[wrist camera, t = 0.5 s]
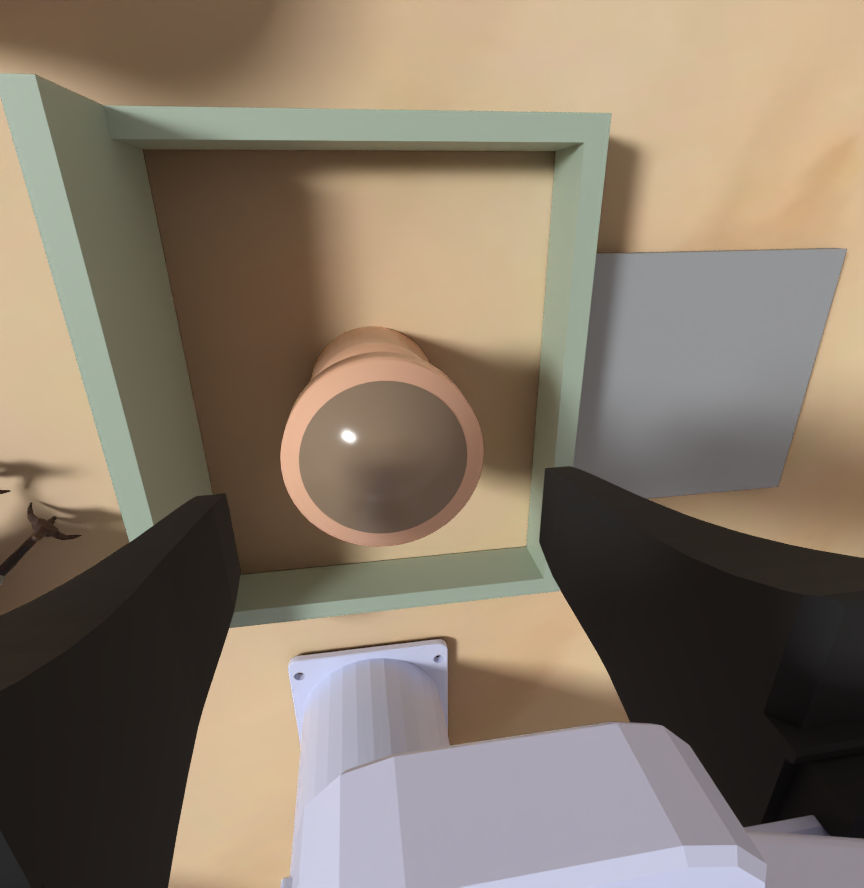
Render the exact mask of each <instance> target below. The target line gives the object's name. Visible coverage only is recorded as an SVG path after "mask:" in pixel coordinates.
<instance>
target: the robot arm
mask: <svg viewBox="0 0 864 888" xmlns="http://www.w3.org/2000/svg"><path fill="white" fill-rule="evenodd" d="M539 543H540V546H541V549H542V551H543V554H544V556H545V559H546V562H547V564H548V566H549V569H550V571H551V573H552V576H553V578H554V580H555V581H556V583H557V585H558V587H559V588H560V590H561V592H562V594H563V595H564V597H565V599H566V600H567V602H568V604H569V606H570V607H571V609H572V611H573V612H574V614H575V616H576V617H577V619H578V621H579V622H580V624H581V626H582V627H583V629H584V631H585V633H586V634H587V636H588V638H589V639H590V641H591V643H592V644H593V646H594V648H595V649H596V651H597V653H598V655H599V656H600V658H601V660H602V662H603V664H604V666H605V668H606V670H607V672H608V674H609V676H610V678H611V680H612V682H613V685H614V687H615V689H616V691H617V693H618V696H619V698H620V700H621V702H622V704H623V707H624V709H625V711H626V713H627V716H628V718H629V720H630V722H612V721H611V722H604V723H597V724H591V725H584V726H577V727H571V728H564V729H557V730H551V731H544V732H537V733H531V734H524V735H517V736H510V737H504V738H497V739H490V740H484V741H477V742H470V743H464V744H457V745H450V744H449V739H448V648H447V644H446V642H445V641H444V640H441V639H435V640H427V641H418V642H410V643H402V644H393V645H385V646H377V647H369V648H360V649H352V650H344V651H335V652H327V653H319V654H311V655H302V656H296V657H293V658H292V659H291V660H290V661H289V666H288V672H289V678H290V684H291V690H292V697H293V703H294V709H295V715H296V721H297V727H298V733H299V739H300V745H301V751H300V763H299V774H298V786H297V798H296V810H295V822H294V833H293V845H292V857H291V869H290V877H286V878H283V879H282V880H281V888H864V558H860V557H853V556H848V555H842V554H836V553H830V552H824V551H818V550H813V549H808V548H803V547H798V546H793V545H789V544H784V543H780V542H776V541H772V540H768V539H764V538H759V537H755V536H751V535H748V534H744V533H740V532H737V531H733V530H730V529H727V528H724V527H721V526H717V525H714V524H711V523H708V522H705V521H702V520H699V519H696V518H693V517H690V516H688V515H685V514H682V513H680V512H677V511H675V510H672V509H670V508H667V507H665V506H662V505H660V504H657V503H655V502H653V501H650V500H648V499H646V498H643V497H641V496H639V495H636V494H634V493H632V492H630V491H628V490H625V489H623V488H621V487H619V486H617V485H615V484H612V483H610V482H608V481H606V480H604V479H601V478H599V477H597V476H595V475H592V474H590V473H588V472H585V471H583V470H580V469H578V468H575V467H571V466H565V467H552V468H545V474H544V486H543V498H542V510H541V523H540V535H539ZM240 574H241V569H240V564H239V559H238V554H237V549H236V544H235V538H234V533H233V528H232V523H231V518H230V512H229V507H228V502H227V497H226V494H215V495H203V496H196V497H194V498H192V499H190V500H189V501H187V502H186V503H184V504H183V505H181V506H180V507H178V508H177V509H176V510H174V511H173V512H171V513H170V514H169V515H167V516H166V517H165V518H163V519H162V520H160V521H159V522H158V523H156V524H155V525H153V526H152V527H151V528H149V529H148V530H146V531H145V532H144V533H142V534H141V535H140V536H138V537H137V538H135V539H134V540H133V541H131V542H130V543H128V544H127V545H125V546H123V547H122V548H120V549H119V550H117V551H116V552H114V553H113V554H111V555H110V556H108V557H107V558H105V559H104V560H102V561H101V562H99V563H98V564H96V565H95V566H93V567H92V568H90V569H88V570H87V571H85V572H83V573H82V574H80V575H78V576H77V577H75V578H73V579H71V580H70V581H68V582H66V583H65V584H63V585H61V586H59V587H57V588H55V589H53V590H52V591H50V592H48V593H46V594H44V595H42V596H41V597H39V598H37V599H35V600H33V601H31V602H29V603H27V604H25V605H23V606H21V607H19V608H16V609H14V610H12V611H10V612H8V613H6V614H4V615H1V616H0V888H168V883H169V877H170V871H171V865H172V859H173V853H174V848H175V842H176V836H177V830H178V825H179V820H180V814H181V809H182V804H183V798H184V793H185V788H186V783H187V777H188V772H189V768H190V763H191V758H192V753H193V749H194V744H195V739H196V734H197V730H198V725H199V722H200V718H201V715H202V711H203V707H204V704H205V701H206V698H207V695H208V692H209V688H210V685H211V682H212V679H213V676H214V673H215V670H216V667H217V664H218V661H219V658H220V655H221V652H222V649H223V646H224V642H225V639H226V636H227V633H228V630H229V627H230V624H231V620H232V617H233V614H234V610H235V604H236V599H237V593H238V587H239V581H240ZM437 655H441V656H439V657H435V656H437ZM297 673H303V674H297Z"/></svg>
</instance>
